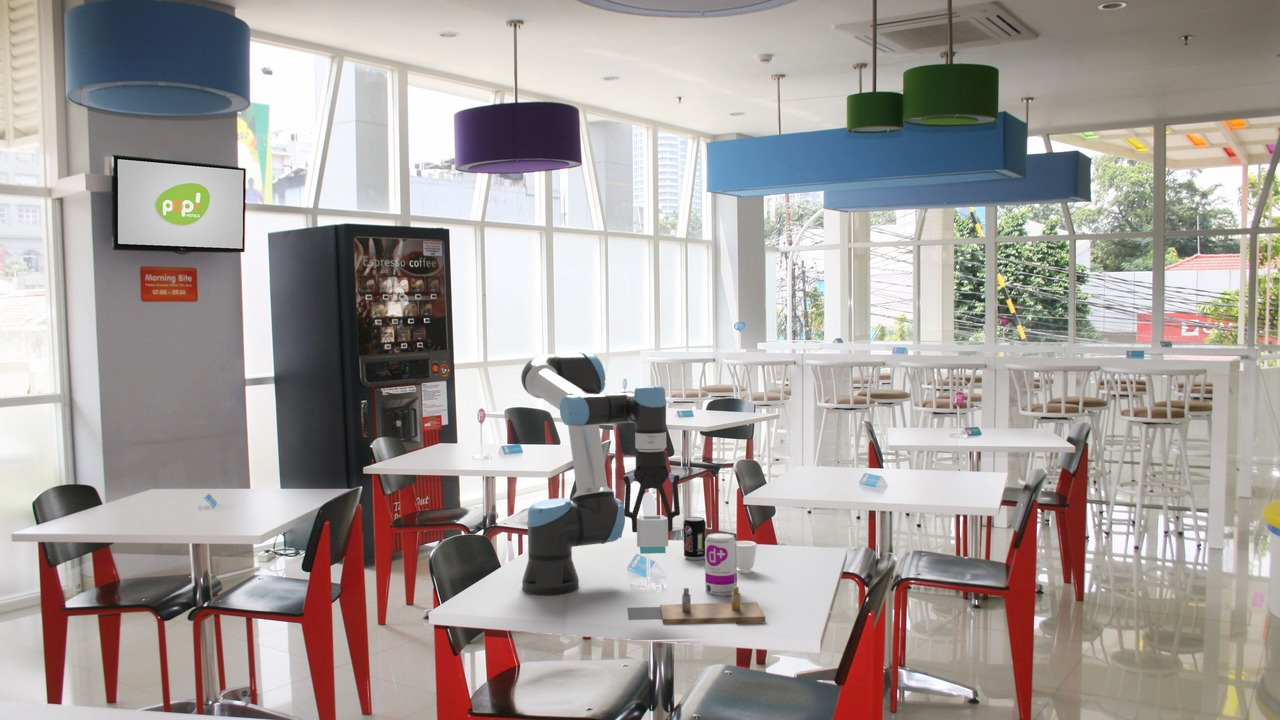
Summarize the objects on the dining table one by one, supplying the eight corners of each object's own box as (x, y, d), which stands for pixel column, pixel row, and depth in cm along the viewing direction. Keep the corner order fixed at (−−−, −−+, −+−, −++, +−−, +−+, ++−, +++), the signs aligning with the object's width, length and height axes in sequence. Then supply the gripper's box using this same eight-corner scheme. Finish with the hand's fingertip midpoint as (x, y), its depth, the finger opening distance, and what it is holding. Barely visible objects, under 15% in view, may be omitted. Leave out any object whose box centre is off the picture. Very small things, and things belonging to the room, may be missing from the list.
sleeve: (640, 553, 234) (640, 520, 234) (639, 548, 240) (639, 515, 240) (665, 553, 235) (665, 519, 234) (664, 547, 241) (663, 515, 240)
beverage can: (706, 560, 293) (706, 520, 292) (684, 560, 293) (683, 520, 292) (705, 555, 299) (705, 516, 299) (683, 555, 300) (683, 516, 299)
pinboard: (663, 625, 230) (662, 595, 229) (660, 610, 242) (659, 582, 241) (765, 622, 231) (765, 593, 230) (757, 608, 243) (756, 580, 242)
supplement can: (728, 598, 252) (727, 540, 251) (699, 594, 256) (699, 537, 256) (742, 591, 259) (741, 534, 258) (714, 587, 263) (713, 531, 262)
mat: (628, 621, 233) (628, 619, 233) (627, 609, 243) (627, 607, 243) (670, 620, 234) (670, 618, 234) (667, 608, 244) (667, 606, 244)
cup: (755, 575, 275) (755, 546, 275) (720, 573, 277) (719, 545, 277) (758, 568, 282) (758, 541, 282) (723, 567, 284) (723, 539, 284)
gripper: (611, 452, 233) (613, 549, 234) (691, 450, 233) (693, 547, 234) (611, 448, 240) (613, 542, 241) (689, 447, 241) (690, 541, 242)
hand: (652, 545), depth 238 cm, fingers closed on sleeve, 6 cm apart
